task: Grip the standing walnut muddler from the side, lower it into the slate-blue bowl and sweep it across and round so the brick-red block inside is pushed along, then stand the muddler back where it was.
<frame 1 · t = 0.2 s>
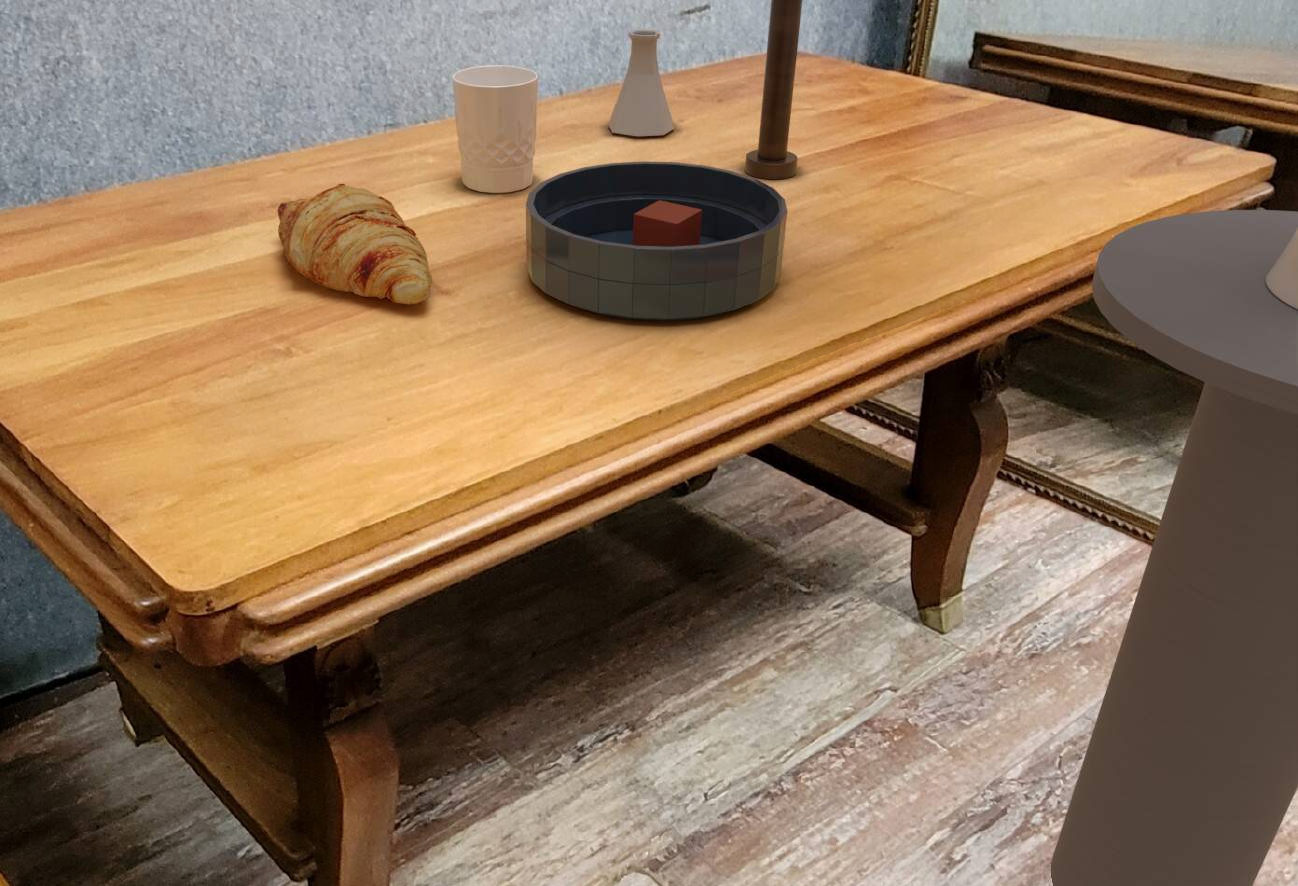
bowl: (652, 273, 100), on the table
flask: (640, 130, 134), on the table
muddler: (770, 171, 122), on the table
block: (665, 259, 101), point 1 cm above the table, touching bowl
croissant: (350, 276, 100), on the table
white cup: (497, 184, 119), on the table
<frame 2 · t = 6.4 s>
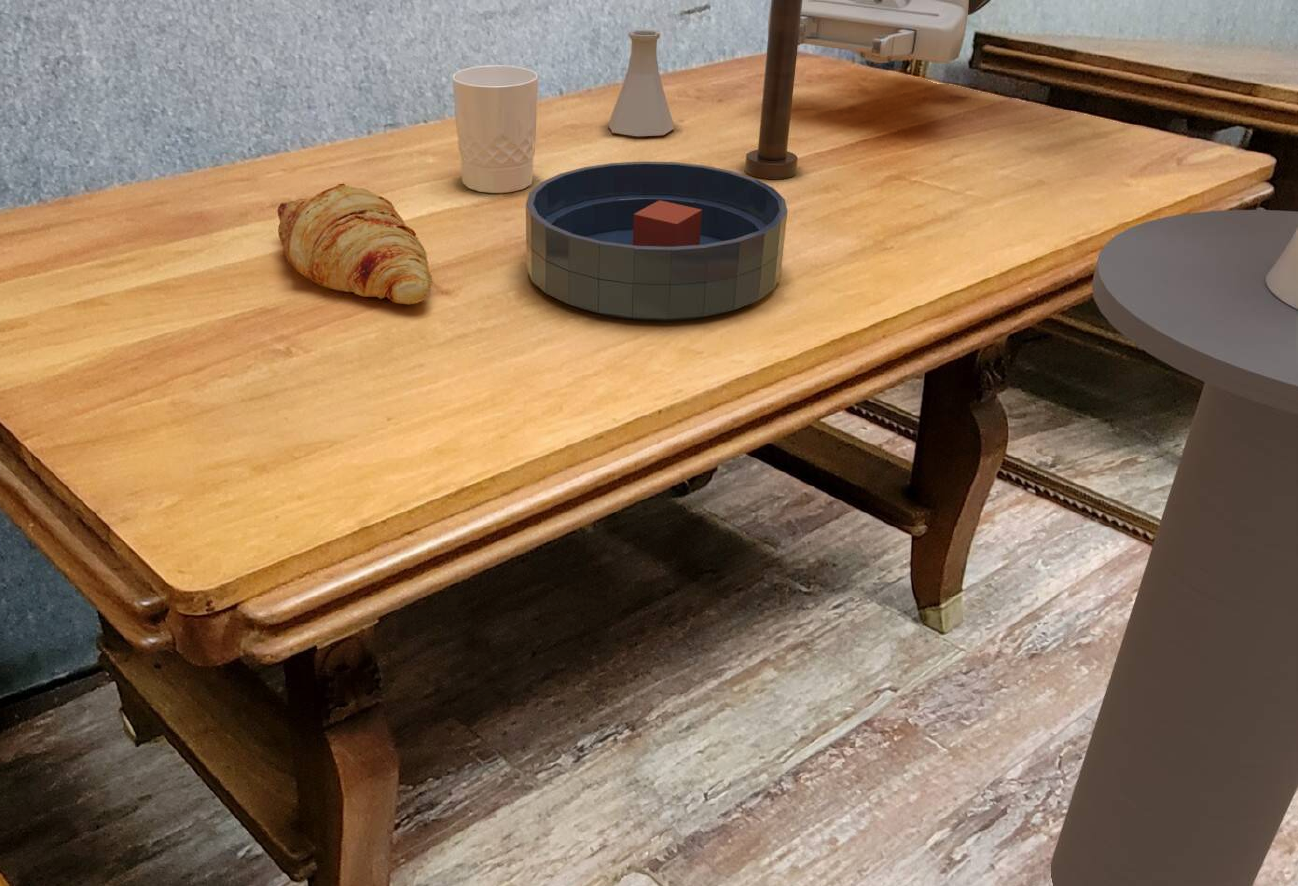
hand: (834, 42, 125), 10 cm above the table, tool horizontal, fingers open, 8 cm apart
nothing on the table moved.
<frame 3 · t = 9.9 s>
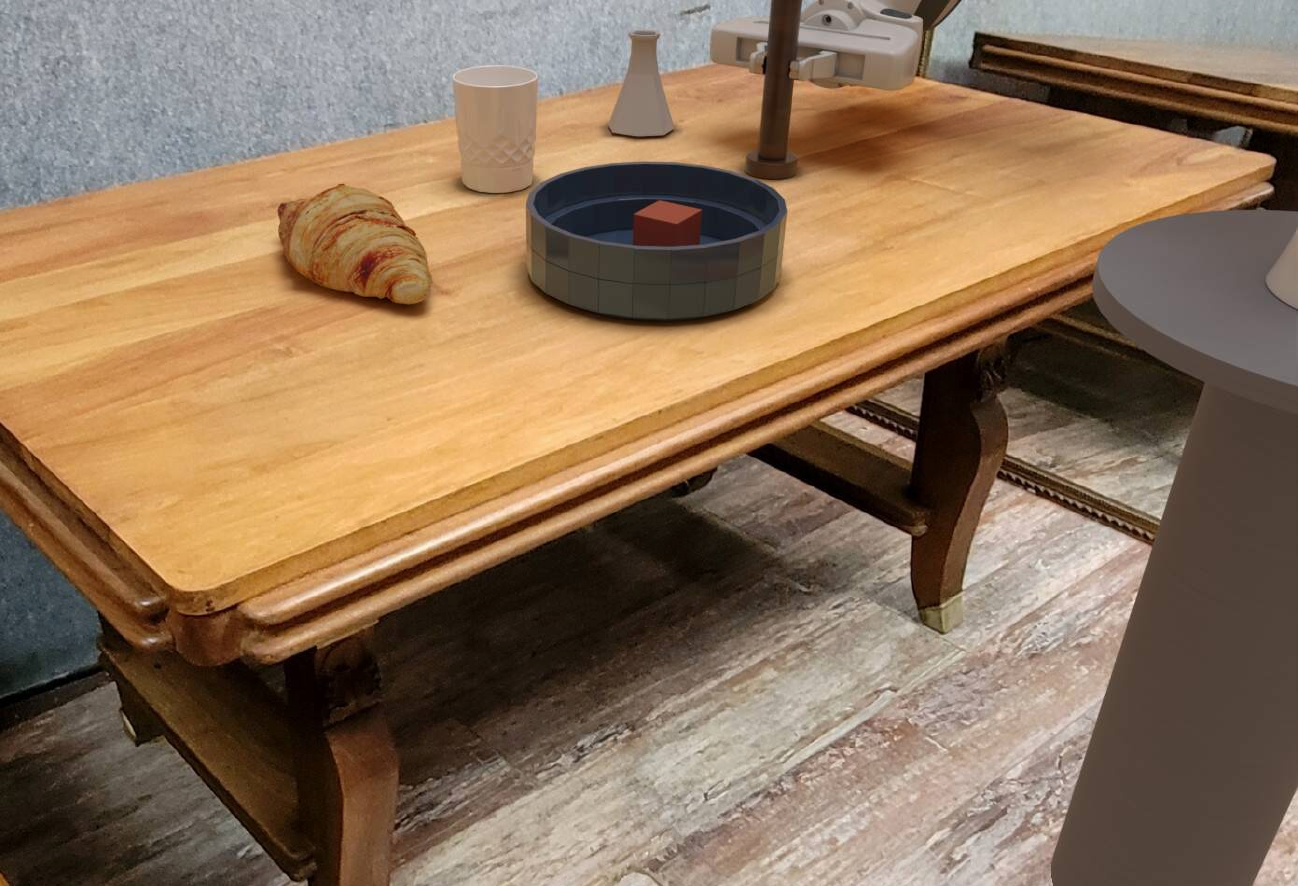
hand: (776, 68, 116), 10 cm above the table, tool horizontal, fingers closed on muddler, 3 cm apart
muddler: (770, 171, 122), on the table, touching gripper
everything else where it was.
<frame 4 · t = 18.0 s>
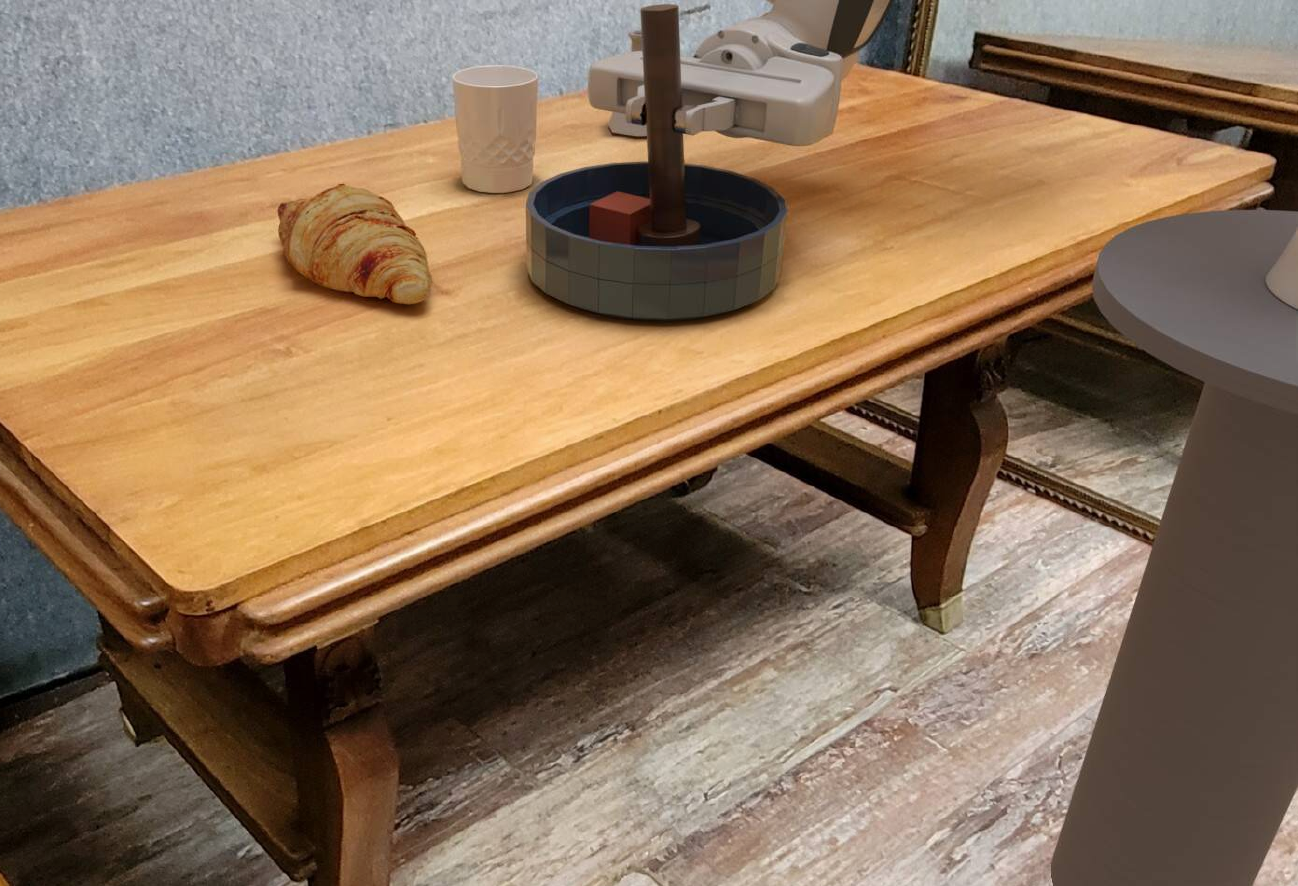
hand: (658, 118, 94), 12 cm above the table, tool horizontal, fingers closed on muddler, 3 cm apart
muddler: (669, 245, 100), point 2 cm above the table, tilted 6°, touching block, gripper
block: (622, 249, 103), point 1 cm above the table, touching bowl, muddler
everything else where it was.
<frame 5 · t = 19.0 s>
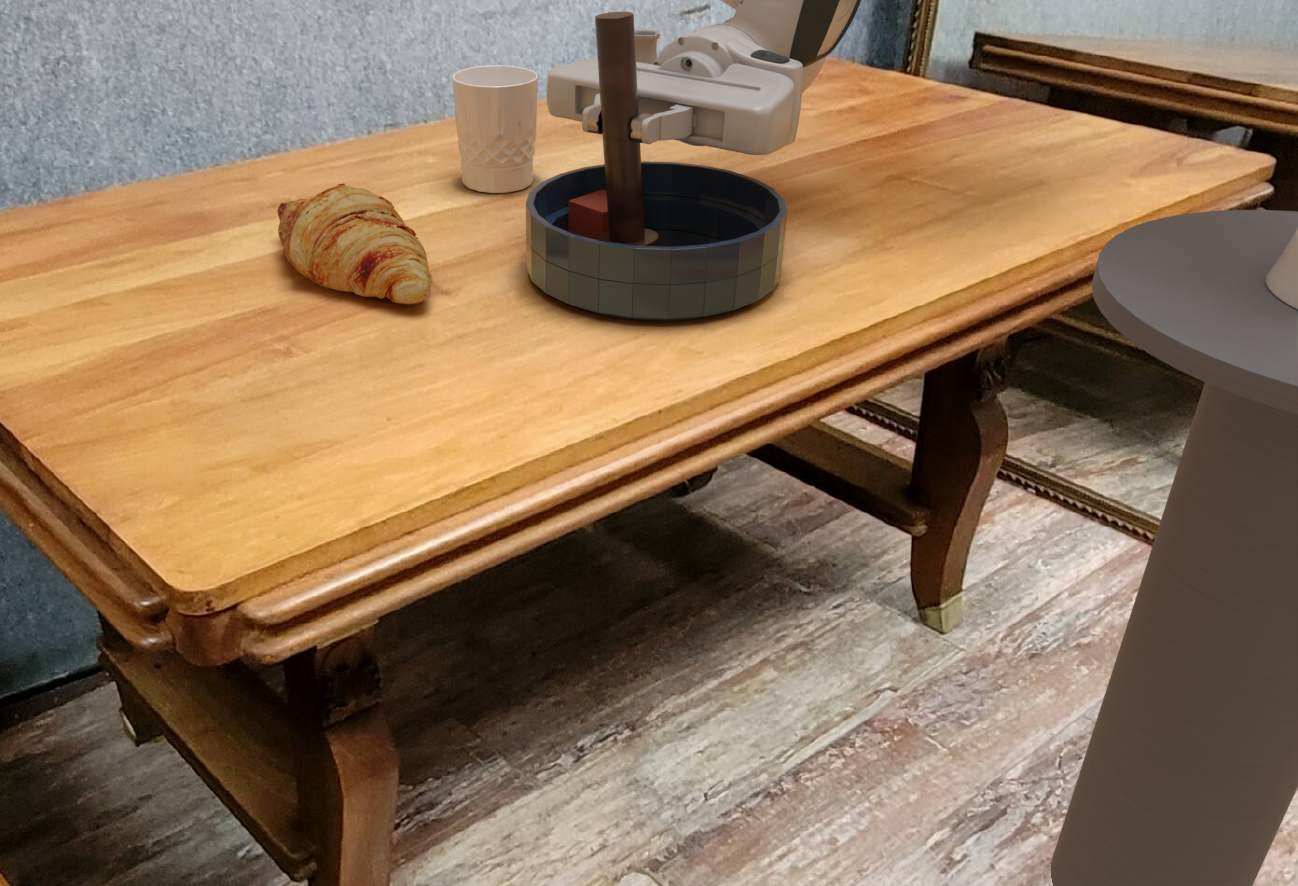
hand: (614, 127, 93), 12 cm above the table, tool horizontal, fingers closed on muddler, 3 cm apart
muddler: (628, 255, 98), point 2 cm above the table, tilted 6°, touching gripper
block: (601, 247, 103), point 1 cm above the table, touching bowl
everything else where it was.
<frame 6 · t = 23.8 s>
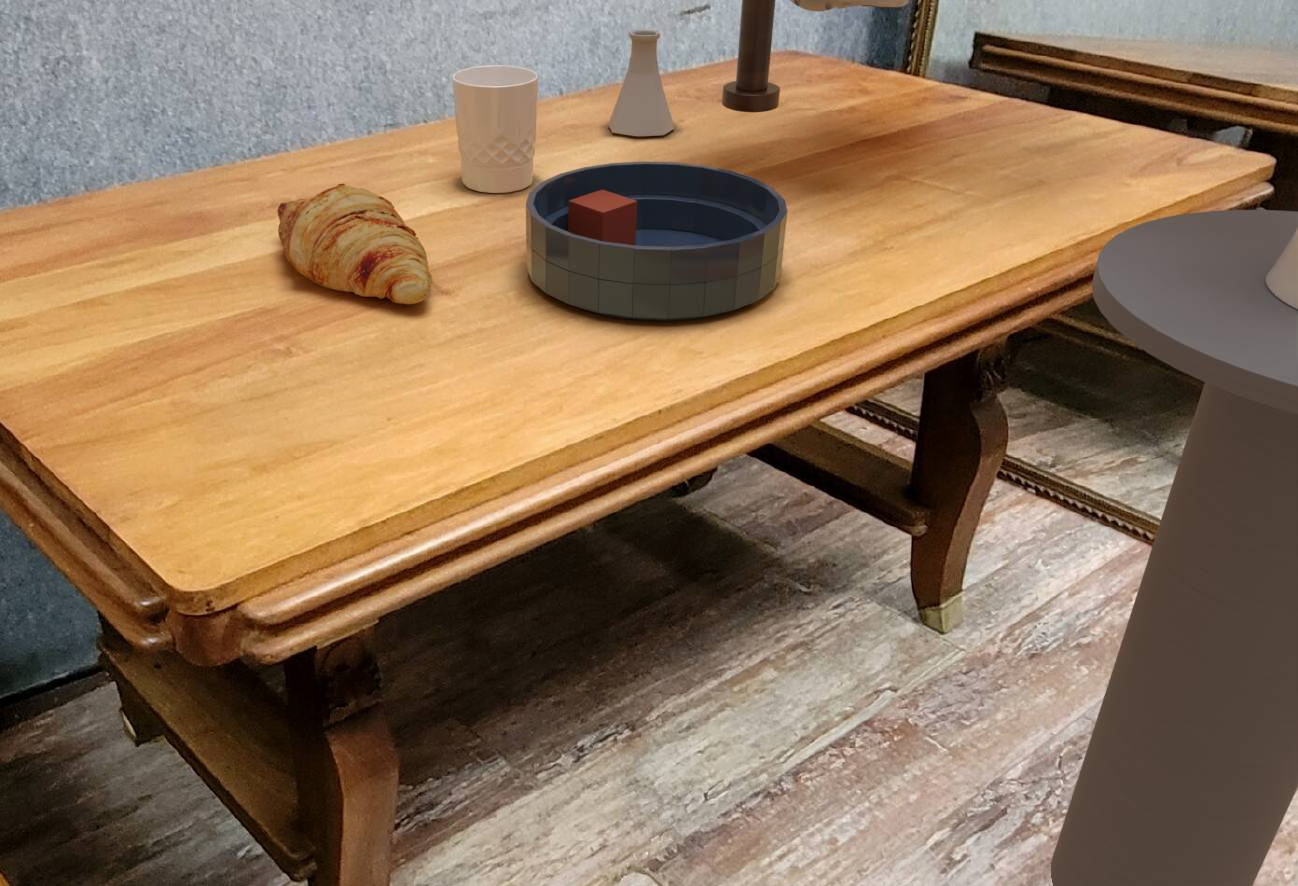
muddler: (750, 104, 110), point 9 cm above the table, touching gripper
everything else where it was.
when the fingers open (10 cm above the table, at t = 27.6 s): muddler stays where it is, on the table.
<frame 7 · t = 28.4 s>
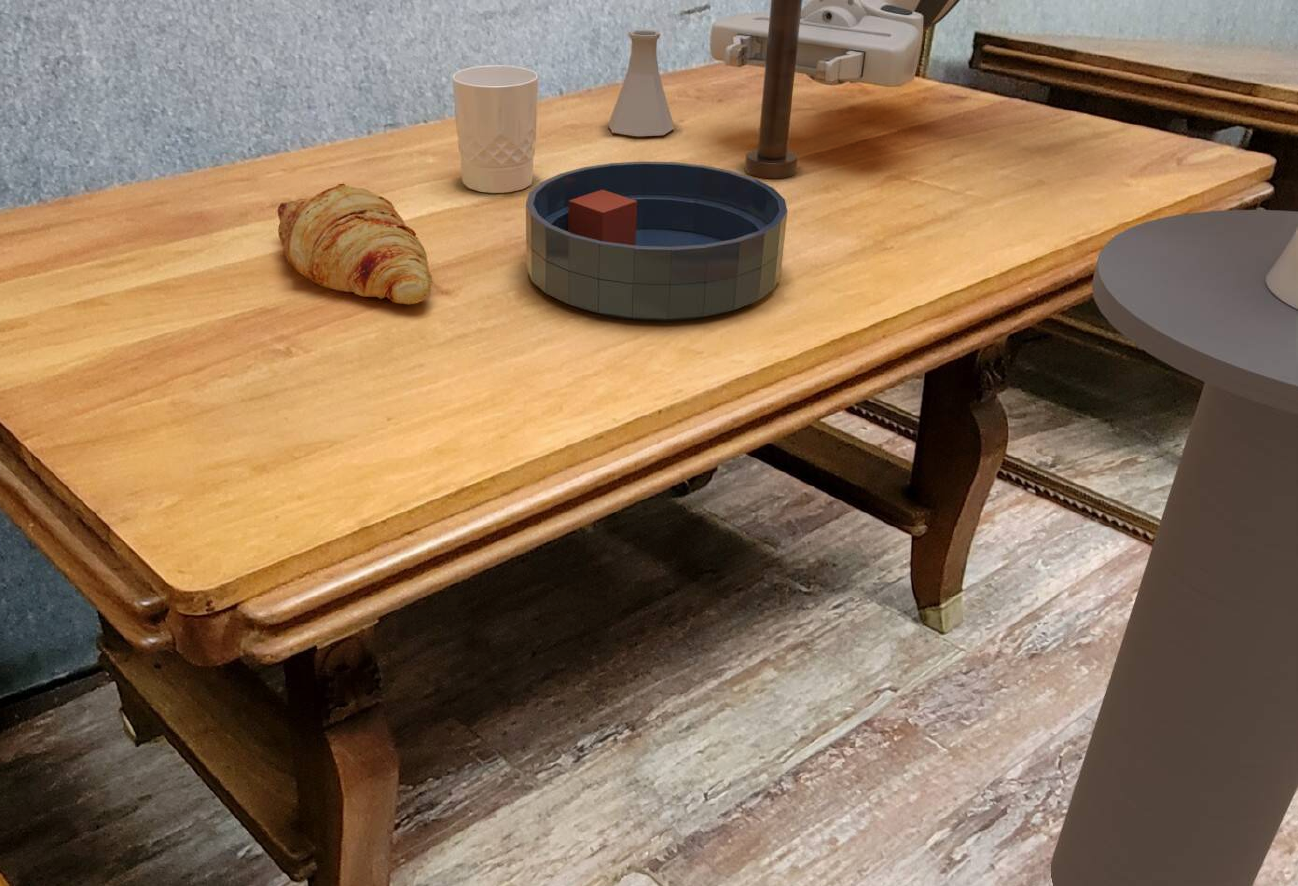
hand: (776, 64, 116), 10 cm above the table, tool horizontal, fingers open, 8 cm apart
muddler: (770, 170, 122), on the table
everything else where it was.
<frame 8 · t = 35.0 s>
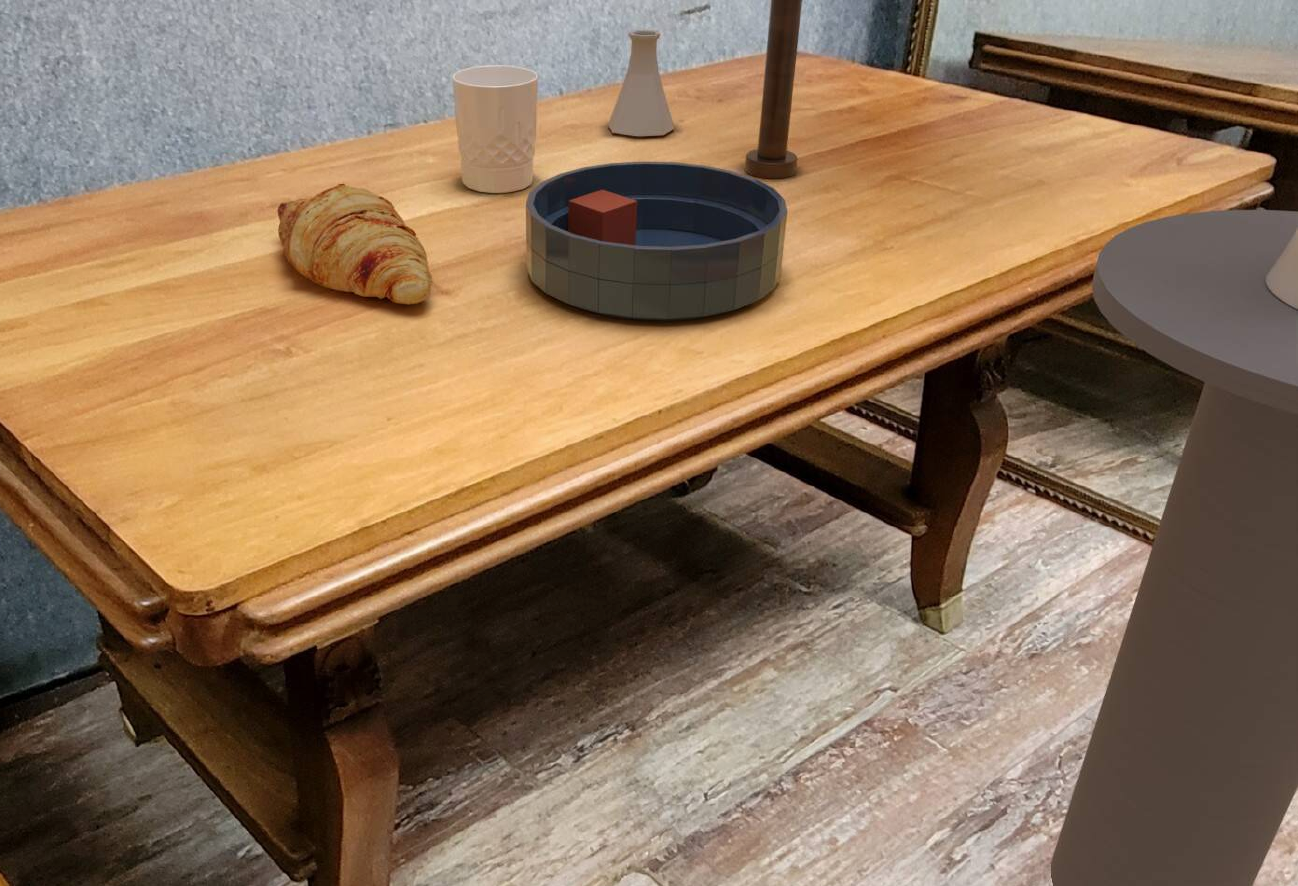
nothing on the table moved.
at the end: block moved 5.8 cm from its start; block inside the target area in the bowl (5.8 cm from its centre), point 0.6 cm above the bowl's base; muddler inside the target area (0.2 cm from its centre), on the table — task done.
